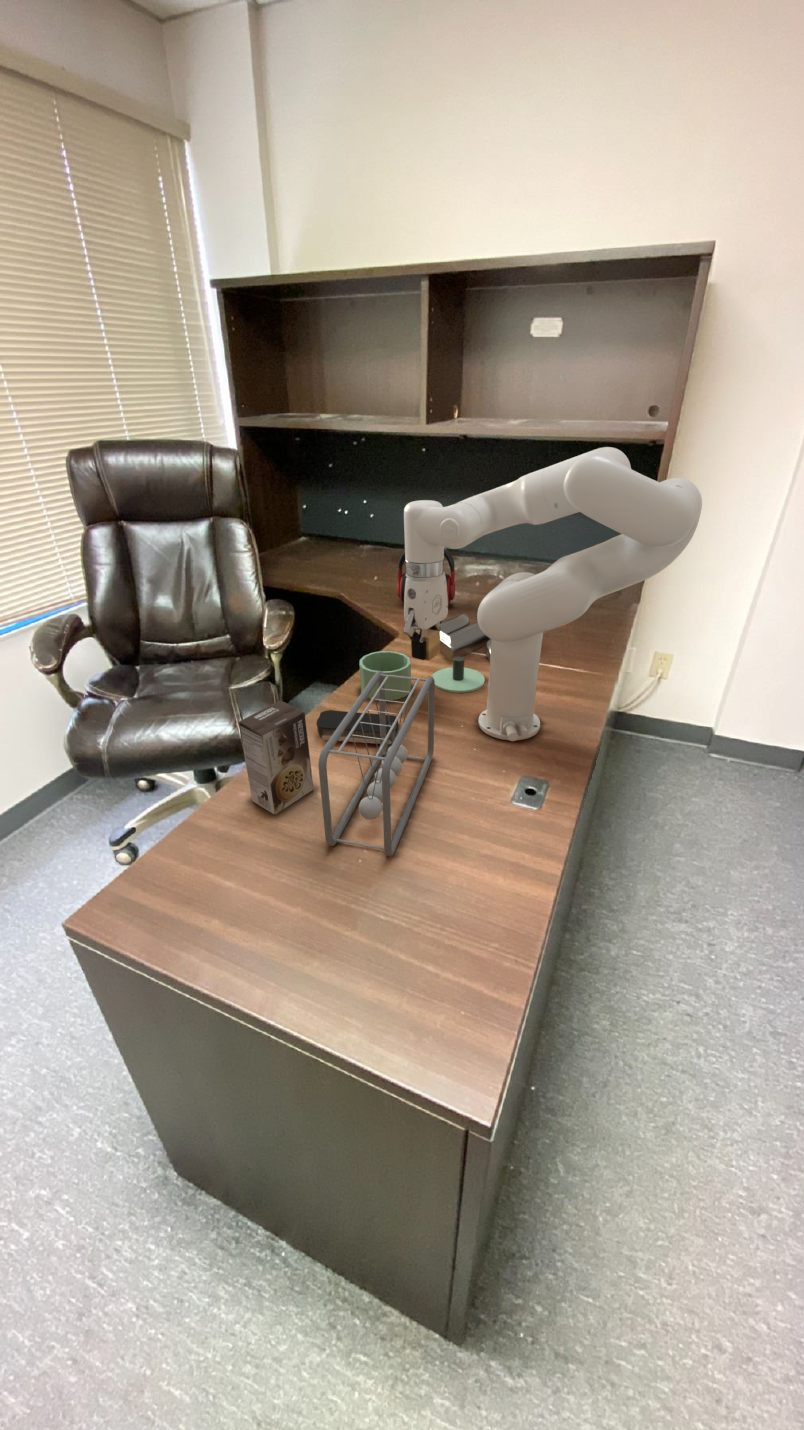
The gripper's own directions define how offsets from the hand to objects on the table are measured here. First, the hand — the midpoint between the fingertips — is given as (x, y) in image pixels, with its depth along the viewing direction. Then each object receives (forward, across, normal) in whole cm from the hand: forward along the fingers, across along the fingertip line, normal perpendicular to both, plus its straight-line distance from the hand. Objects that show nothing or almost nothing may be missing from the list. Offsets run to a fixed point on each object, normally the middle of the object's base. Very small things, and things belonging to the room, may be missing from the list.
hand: (425, 653), depth 127 cm
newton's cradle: (+13, -32, -12) cm, 36 cm away
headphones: (+12, +55, +35) cm, 66 cm away
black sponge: (+13, -18, +5) cm, 23 cm away
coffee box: (+12, -41, +4) cm, 43 cm away
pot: (+12, +1, +11) cm, 17 cm away
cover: (+12, +13, 0) cm, 18 cm away
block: (0, 0, 0) cm, 0 cm away
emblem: (+13, +36, +7) cm, 39 cm away
